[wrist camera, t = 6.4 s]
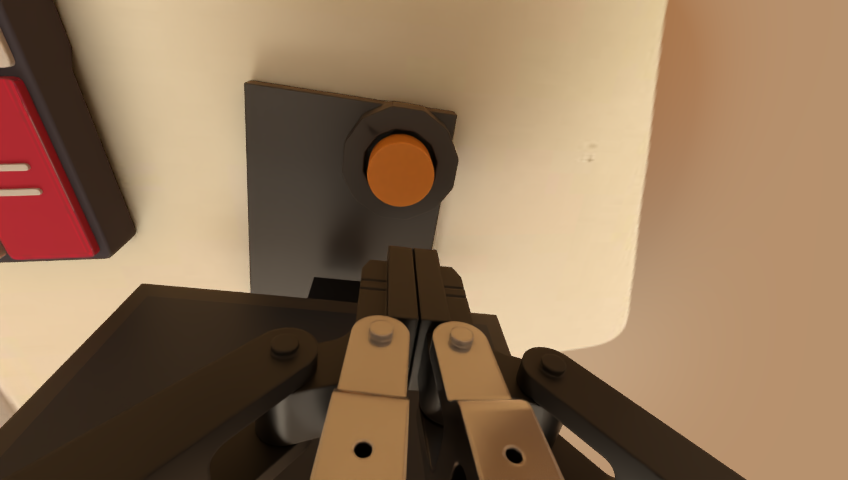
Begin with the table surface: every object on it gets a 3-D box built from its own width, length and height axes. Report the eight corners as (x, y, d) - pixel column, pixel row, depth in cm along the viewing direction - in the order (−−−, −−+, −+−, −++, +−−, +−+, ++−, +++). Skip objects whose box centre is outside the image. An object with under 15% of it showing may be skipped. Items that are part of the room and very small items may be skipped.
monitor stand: (313, 276, 27) (272, 409, 17) (361, 280, 27) (345, 413, 18) (312, 302, 27) (272, 441, 18) (358, 306, 28) (341, 444, 19)
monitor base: (250, 75, 24) (232, 81, 21) (459, 107, 25) (467, 117, 23) (255, 296, 30) (242, 321, 28) (420, 310, 32) (423, 336, 29)
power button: (372, 128, 23) (370, 137, 21) (436, 138, 23) (439, 147, 22) (365, 190, 25) (364, 202, 23) (425, 197, 25) (428, 210, 23)
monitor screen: (141, 281, 20) (-138, 563, 10) (497, 313, 23) (591, 567, 12) (146, 313, 21) (-104, 605, 10) (489, 340, 23) (569, 600, 13)
